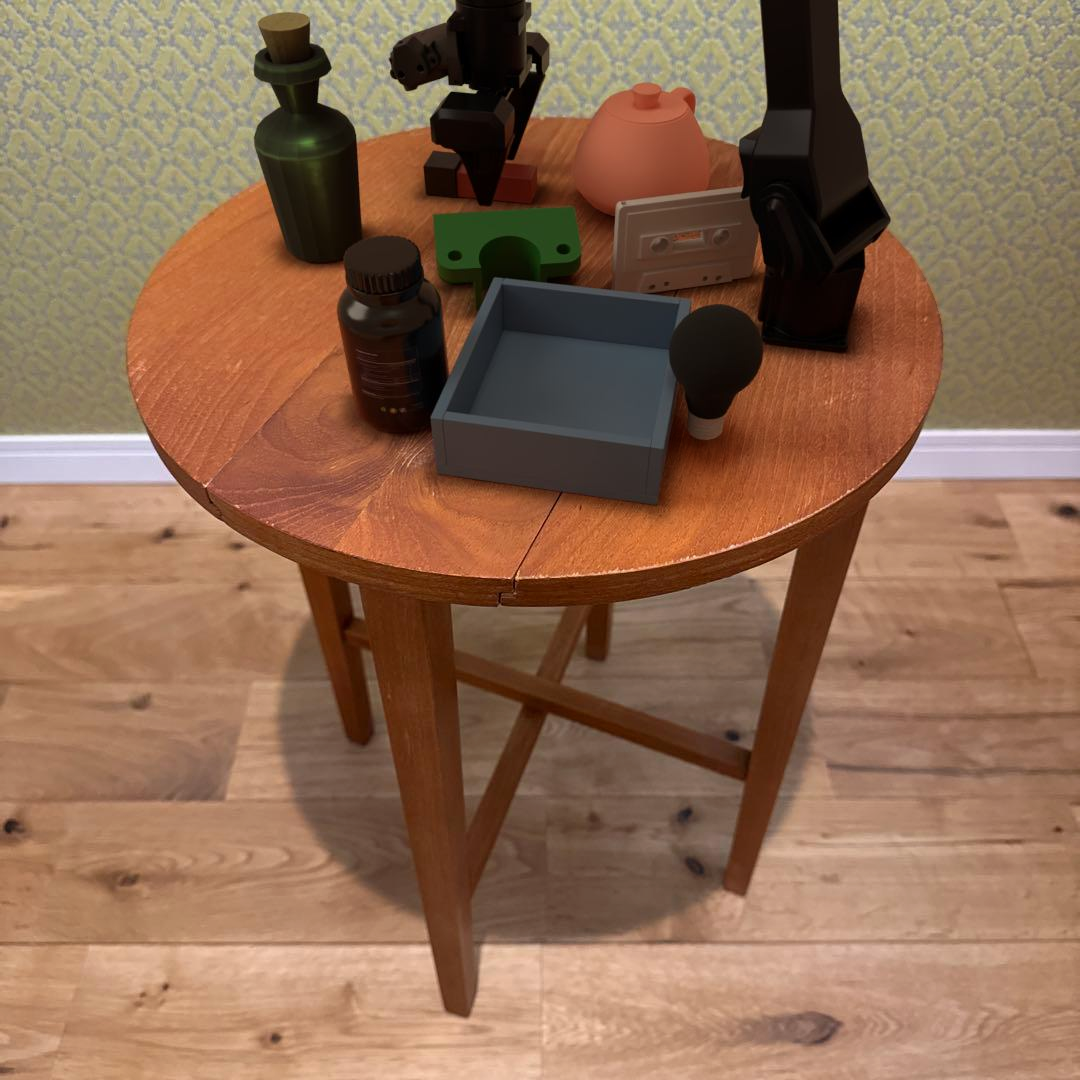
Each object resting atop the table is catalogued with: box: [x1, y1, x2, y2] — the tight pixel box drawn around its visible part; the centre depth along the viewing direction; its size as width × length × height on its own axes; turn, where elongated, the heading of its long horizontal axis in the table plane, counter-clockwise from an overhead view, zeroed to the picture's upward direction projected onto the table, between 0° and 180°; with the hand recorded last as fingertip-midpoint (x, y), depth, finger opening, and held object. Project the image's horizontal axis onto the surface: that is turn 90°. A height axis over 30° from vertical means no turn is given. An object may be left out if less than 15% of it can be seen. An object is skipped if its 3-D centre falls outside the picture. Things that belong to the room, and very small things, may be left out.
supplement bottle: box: [336, 234, 450, 434], centre depth 64 cm, size 7×7×12 cm
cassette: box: [610, 185, 760, 294], centre depth 77 cm, size 12×2×8 cm, turn 104°
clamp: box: [432, 205, 583, 311], centre depth 77 cm, size 12×6×9 cm, turn 90°
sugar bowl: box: [572, 81, 711, 217], centre depth 86 cm, size 12×14×10 cm
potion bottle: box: [253, 11, 363, 264], centre depth 77 cm, size 8×8×18 cm
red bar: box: [422, 150, 538, 205], centre depth 89 cm, size 10×3×3 cm, turn 78°
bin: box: [430, 277, 693, 506], centre depth 67 cm, size 15×17×5 cm
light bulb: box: [669, 303, 764, 441], centre depth 63 cm, size 6×6×10 cm
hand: (497, 181), depth 89 cm, fingers open, 9 cm apart
